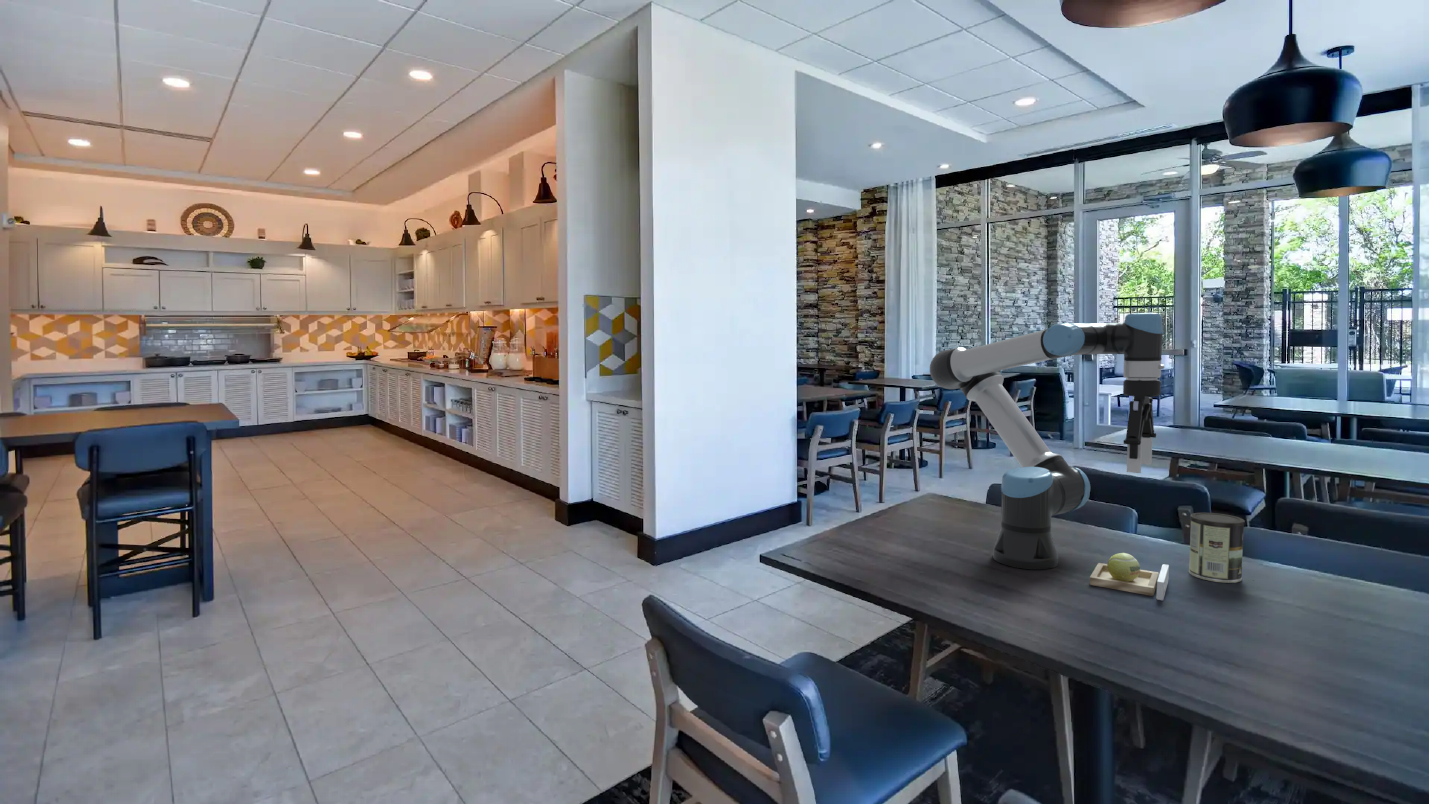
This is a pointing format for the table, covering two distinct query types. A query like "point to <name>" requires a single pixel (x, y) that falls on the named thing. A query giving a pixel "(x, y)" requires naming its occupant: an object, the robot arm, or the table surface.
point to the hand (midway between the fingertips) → (1139, 468)
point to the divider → (1162, 582)
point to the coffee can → (1216, 547)
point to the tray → (1139, 585)
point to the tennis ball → (1123, 567)
